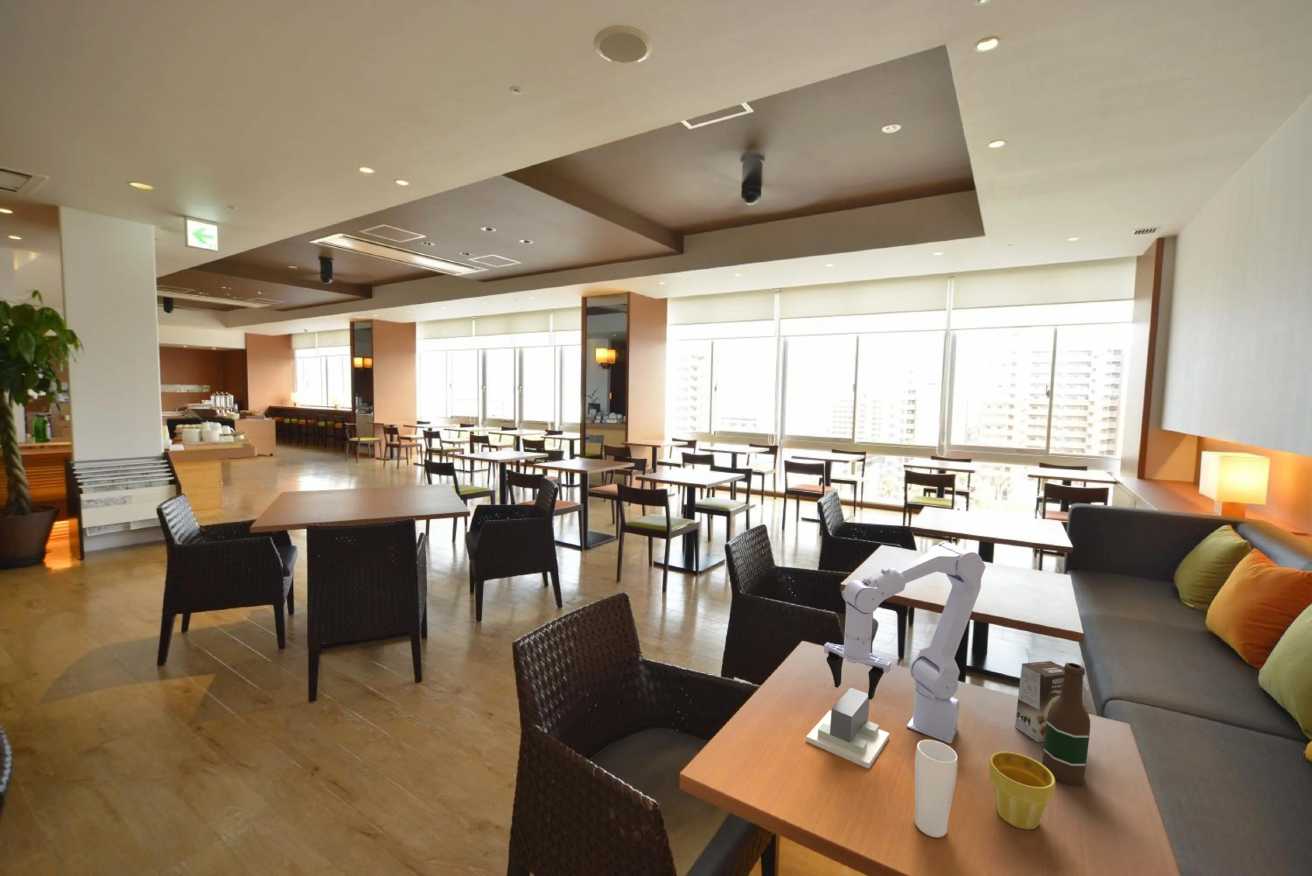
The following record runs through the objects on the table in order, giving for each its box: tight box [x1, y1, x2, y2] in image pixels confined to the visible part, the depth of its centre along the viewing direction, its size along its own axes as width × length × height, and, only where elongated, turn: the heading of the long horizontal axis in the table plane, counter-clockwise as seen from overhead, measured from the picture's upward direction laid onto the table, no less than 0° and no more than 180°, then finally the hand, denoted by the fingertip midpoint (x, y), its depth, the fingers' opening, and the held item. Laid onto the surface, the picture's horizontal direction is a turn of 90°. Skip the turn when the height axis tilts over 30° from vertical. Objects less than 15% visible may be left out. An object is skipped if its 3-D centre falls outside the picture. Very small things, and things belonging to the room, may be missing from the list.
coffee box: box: [1014, 660, 1065, 743], centre depth 135 cm, size 9×6×16 cm
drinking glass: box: [914, 739, 959, 838], centre depth 104 cm, size 7×7×15 cm
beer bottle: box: [1041, 662, 1091, 786], centre depth 120 cm, size 8×8×24 cm
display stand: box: [805, 709, 890, 770], centre depth 130 cm, size 14×14×3 cm
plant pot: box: [988, 751, 1056, 830], centre depth 107 cm, size 10×10×10 cm
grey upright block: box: [830, 687, 870, 743], centre depth 130 cm, size 4×12×6 cm, turn 142°
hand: (854, 691), depth 131 cm, fingers open, 7 cm apart
